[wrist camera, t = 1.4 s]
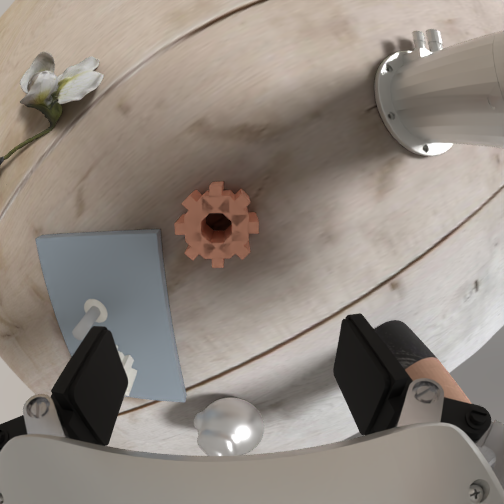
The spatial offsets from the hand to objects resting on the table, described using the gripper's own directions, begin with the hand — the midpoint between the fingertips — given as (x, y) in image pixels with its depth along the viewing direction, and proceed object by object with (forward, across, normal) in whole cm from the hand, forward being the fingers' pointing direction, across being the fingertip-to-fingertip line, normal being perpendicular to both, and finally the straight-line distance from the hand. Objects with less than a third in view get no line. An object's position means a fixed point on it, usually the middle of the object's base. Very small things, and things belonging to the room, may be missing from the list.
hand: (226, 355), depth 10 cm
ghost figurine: (+19, +2, +25) cm, 32 cm away
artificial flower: (+19, +22, -15) cm, 33 cm away
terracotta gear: (+18, +1, -2) cm, 18 cm away
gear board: (+19, +15, +11) cm, 26 cm away
